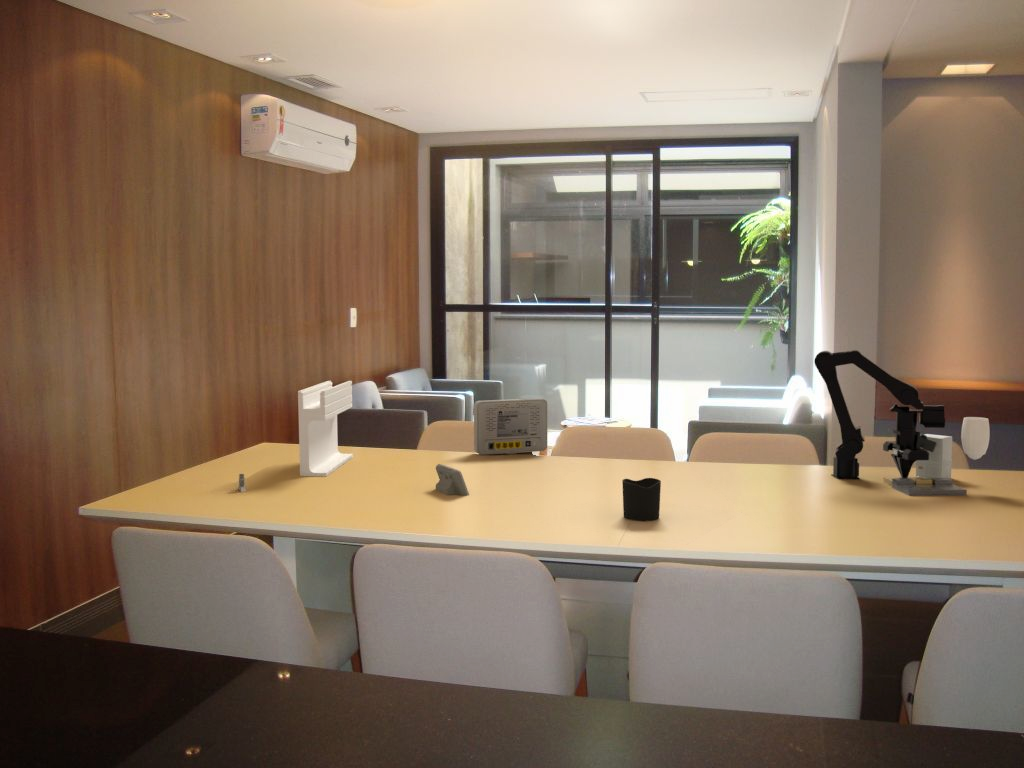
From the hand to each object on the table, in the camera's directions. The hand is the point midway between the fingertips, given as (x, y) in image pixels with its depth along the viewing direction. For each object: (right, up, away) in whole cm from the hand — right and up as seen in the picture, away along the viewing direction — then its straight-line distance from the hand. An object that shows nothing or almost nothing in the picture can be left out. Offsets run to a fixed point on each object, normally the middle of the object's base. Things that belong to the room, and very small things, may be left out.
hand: (904, 479), depth 282 cm
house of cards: (-193, -4, -20) cm, 194 cm away
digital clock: (-133, -4, -19) cm, 135 cm away
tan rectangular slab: (0, -2, -7) cm, 7 cm away
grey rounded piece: (+14, -2, -12) cm, 19 cm away
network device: (-117, +3, +48) cm, 126 cm away
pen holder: (-84, -6, -46) cm, 96 cm away
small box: (+11, -1, +7) cm, 13 cm away
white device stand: (-175, 0, +19) cm, 176 cm away
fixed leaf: (0, -2, -15) cm, 15 cm away
